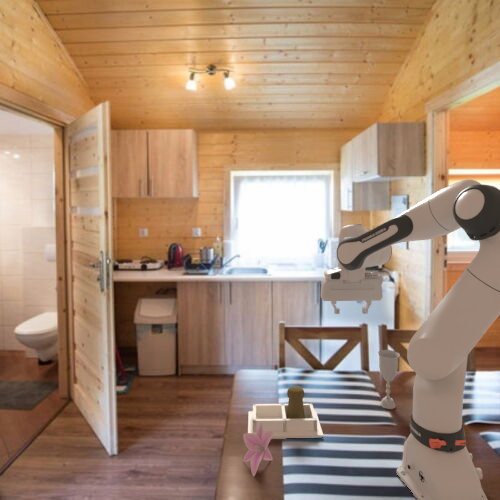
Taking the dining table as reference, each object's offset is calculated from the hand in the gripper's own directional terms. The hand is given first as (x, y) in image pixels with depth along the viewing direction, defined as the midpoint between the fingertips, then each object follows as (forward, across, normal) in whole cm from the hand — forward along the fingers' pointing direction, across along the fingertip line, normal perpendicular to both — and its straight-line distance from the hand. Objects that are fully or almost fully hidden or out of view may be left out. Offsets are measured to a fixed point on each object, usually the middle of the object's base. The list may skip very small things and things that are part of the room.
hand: (350, 313), depth 134 cm
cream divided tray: (+31, +24, +15) cm, 42 cm away
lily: (+32, +32, +33) cm, 55 cm away
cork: (+30, +20, +15) cm, 39 cm away
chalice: (+31, -12, +3) cm, 34 cm away
